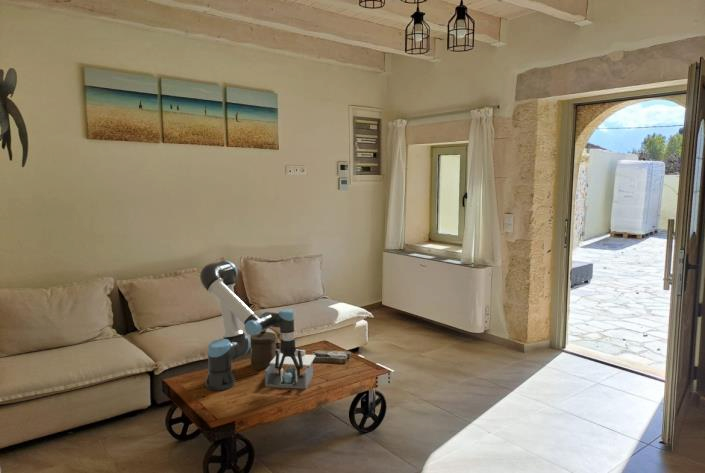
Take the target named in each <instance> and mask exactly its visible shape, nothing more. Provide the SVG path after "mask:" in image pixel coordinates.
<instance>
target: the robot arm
mask: <svg viewBox="0 0 705 473" xmlns="http://www.w3.org/2000/svg"><path fill="white" fill-rule="evenodd" d="M238 272H239V271H238V268H237V266H236V264H234V263H233V262H232V261H231V260H222V261H217V262H213V263H208V264H206V265H204V266H203V267H202V269H201V270H200V273H199V280H200V282H201V285H202V286H203V288H204V289H206V291H207V292H208V293H211V294H213V295H214V296H215V297H216V298H217V299H218V301H219V305H220V311H221V318H222V323H223V327H224V334H223V335H222V338H219V339H215V340H213V341H211V342H210V343H209V344H208V346H207V358H208V362H207V363H208V365H207V366H208V373H207V377H206V380H205V388H206V389H207V390H210V391H225V390H228V389H230V388H232V387H234V386H235V384H236V379H235V376H234V373H233V371H232V362H233V361H234V360H237V359H239V358H241V357H243V356H244V355H245V354H247V353H248V352H249V350H251V338H250V337H249V336H251V335H255V334H259V333H260V332H262V331H264V330H266V331H267V330H268V329H271V328H277V329H278V328H279V332H280V333H279V334H280V335H279V336H280V349H279V348H276V351H275V353H276V361H275V368H276V370H278V373H279V375H281V382H283V380H284V378H283V375H284V373H285V372H284V368H283V366H284V365H283V362H284V360H285V357H291V358H292V360H293V362H294V364H295V366H294V367H295V369H296V370H295V374H296V382H298V380H299V378H298V376H299V375H300V374H301V370H302V369H303V368H304V366H303V362H302V357H301V350H302V349H297V348H296V334H295V333H296V331H295V314H294V311H293V309H290V308H287V309H286V308H285V309H281V310H279V312H271V311H262V312H260V314H259V315H257V314H256V313H255V312H254V311H253V310H252V309H251V308H250V307H249V306H248V305H247V304H246V303H245V302H244V301H243V300H241V298H240V297H239V296H238V295H236V293H235V289H234V287H235V285H236V278H237V276H238V274H239V273H238ZM241 323H242V324H243V325H244V330H243V329H242V328H241ZM248 335H249V336H248ZM295 352H297V354H298V360H299V364H298V361H297V359H296V357H295V354H294V353H295ZM280 353H282V354H283V356H282V359H281V362H280V365H279V355H280ZM299 365H300V366H299Z"/></svg>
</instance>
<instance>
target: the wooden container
mask: <svg viewBox="0 0 705 473" xmlns="http://www.w3.org/2000/svg"><path fill="white" fill-rule="evenodd" d="M276 340H277V336H276V334H275V333H274V332H269V331H267V329H266V330H264V331H262V332H260V333H259V334H255V335H250V366H251V368H252V369H254V370H258V371H262V370H264V369H267V368H268V366H269V365H270V362H271V361H272V360H273V358H274V357H275V356H276V353H275V351H276V350H277V342H276Z"/></svg>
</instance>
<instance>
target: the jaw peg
mask: <svg viewBox="0 0 705 473" xmlns="http://www.w3.org/2000/svg"><path fill="white" fill-rule="evenodd" d="M283 373H284V375H283V378H284V384H292V378H293V375H292V373H291V372H286V371H285V372H283Z"/></svg>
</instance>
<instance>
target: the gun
mask: <svg viewBox="0 0 705 473" xmlns="http://www.w3.org/2000/svg"><path fill="white" fill-rule="evenodd" d="M310 355H316V357H315V358H314V360H313V364H314V363H332V364H333V363H334V364H337V363H338V364H339V363H340V364H346V362H347V359H351V358H352V352H351V351H344V350H343V351H342V350H320V349H318V350H313V351H312V353H311V354H310Z"/></svg>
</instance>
